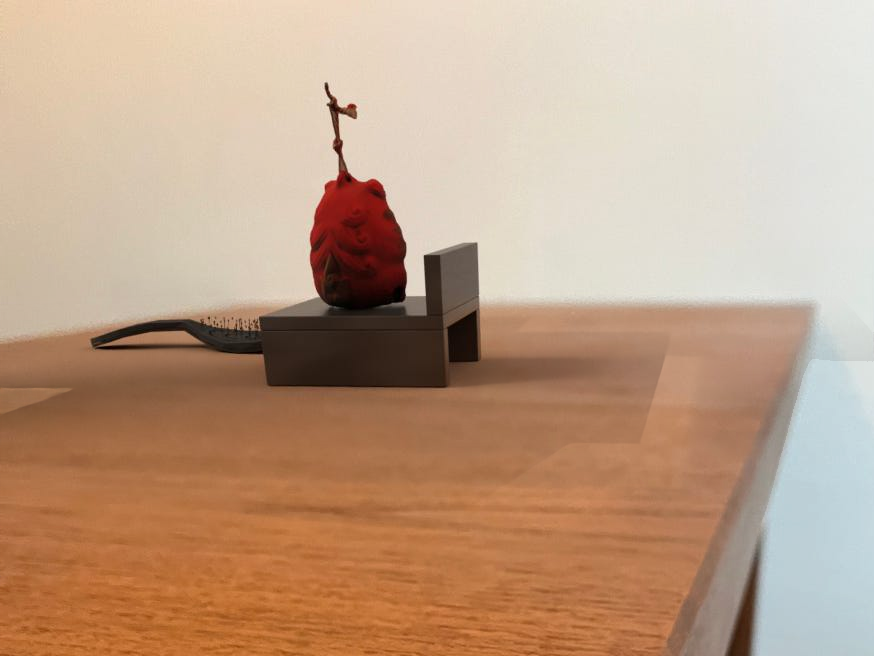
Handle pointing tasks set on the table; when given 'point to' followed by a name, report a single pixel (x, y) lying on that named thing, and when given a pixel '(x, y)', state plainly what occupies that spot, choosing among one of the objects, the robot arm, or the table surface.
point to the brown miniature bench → (381, 333)
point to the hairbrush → (195, 334)
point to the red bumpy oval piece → (356, 237)
